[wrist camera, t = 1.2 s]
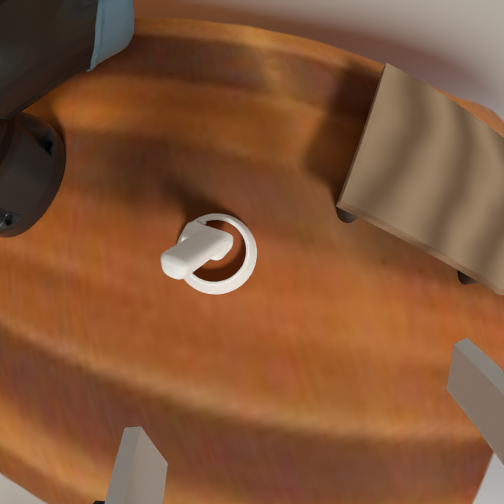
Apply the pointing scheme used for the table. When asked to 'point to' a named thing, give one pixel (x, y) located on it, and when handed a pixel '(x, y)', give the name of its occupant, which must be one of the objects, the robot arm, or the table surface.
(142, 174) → the table surface
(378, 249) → the table surface
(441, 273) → the table surface
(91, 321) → the table surface
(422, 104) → the small wooden table
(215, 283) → the white ring with handle
